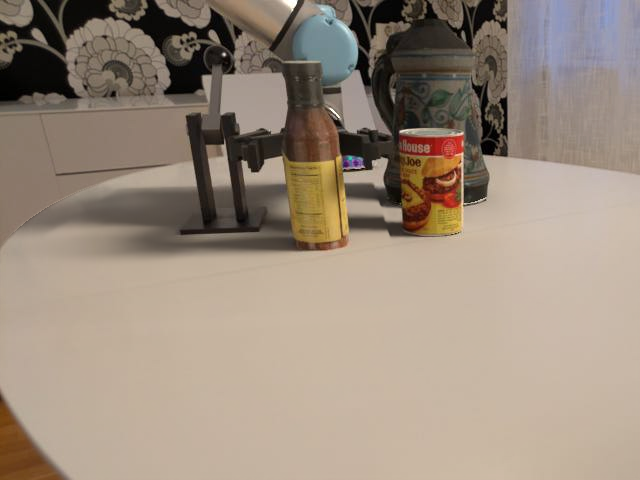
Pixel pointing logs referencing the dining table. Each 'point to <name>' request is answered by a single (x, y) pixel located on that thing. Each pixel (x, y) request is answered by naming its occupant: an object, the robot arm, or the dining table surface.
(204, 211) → the bracket
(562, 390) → the dining table surface
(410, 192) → the canned food
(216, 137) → the lever
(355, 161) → the pudding
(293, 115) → the sauce bottle
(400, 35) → the beer stein
